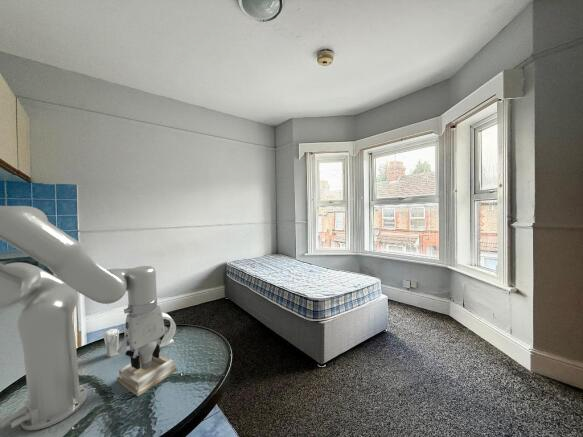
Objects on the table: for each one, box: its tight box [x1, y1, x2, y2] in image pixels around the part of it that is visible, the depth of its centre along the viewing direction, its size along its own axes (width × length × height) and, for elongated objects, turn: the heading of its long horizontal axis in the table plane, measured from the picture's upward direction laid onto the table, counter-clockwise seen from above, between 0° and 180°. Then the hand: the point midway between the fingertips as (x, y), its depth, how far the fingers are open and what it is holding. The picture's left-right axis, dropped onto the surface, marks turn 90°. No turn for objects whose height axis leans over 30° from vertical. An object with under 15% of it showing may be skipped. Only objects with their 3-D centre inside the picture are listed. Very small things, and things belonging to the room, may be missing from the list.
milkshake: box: [103, 328, 120, 358], centre depth 86 cm, size 4×5×10 cm
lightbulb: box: [138, 340, 157, 370], centre depth 75 cm, size 6×6×11 cm
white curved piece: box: [160, 312, 177, 349], centre depth 93 cm, size 5×6×12 cm
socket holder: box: [116, 352, 177, 397], centre depth 75 cm, size 12×12×4 cm
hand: (146, 361), depth 75 cm, fingers open, 5 cm apart
